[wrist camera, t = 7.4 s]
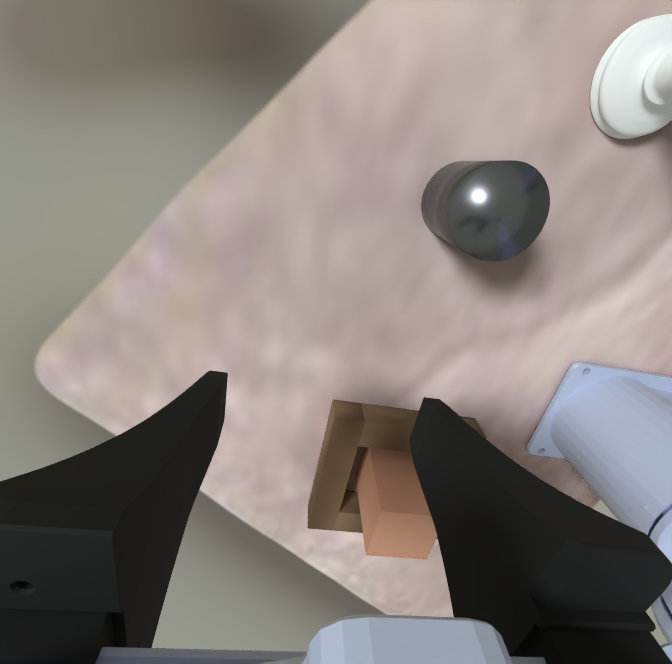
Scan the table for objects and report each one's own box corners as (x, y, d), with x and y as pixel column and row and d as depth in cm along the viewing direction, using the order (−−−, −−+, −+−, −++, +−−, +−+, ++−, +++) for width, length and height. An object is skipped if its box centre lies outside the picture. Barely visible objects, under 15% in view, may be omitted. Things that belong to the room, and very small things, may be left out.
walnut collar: (474, 418, 26) (486, 437, 24) (430, 516, 30) (437, 538, 28) (332, 399, 24) (334, 418, 23) (308, 505, 29) (307, 528, 27)
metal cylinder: (506, 170, 19) (566, 172, 14) (478, 245, 20) (525, 268, 16) (434, 153, 18) (473, 150, 14) (412, 232, 20) (441, 252, 15)
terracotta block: (419, 445, 27) (446, 517, 21) (404, 483, 28) (426, 559, 23) (367, 439, 26) (381, 511, 21) (355, 478, 28) (366, 554, 22)
